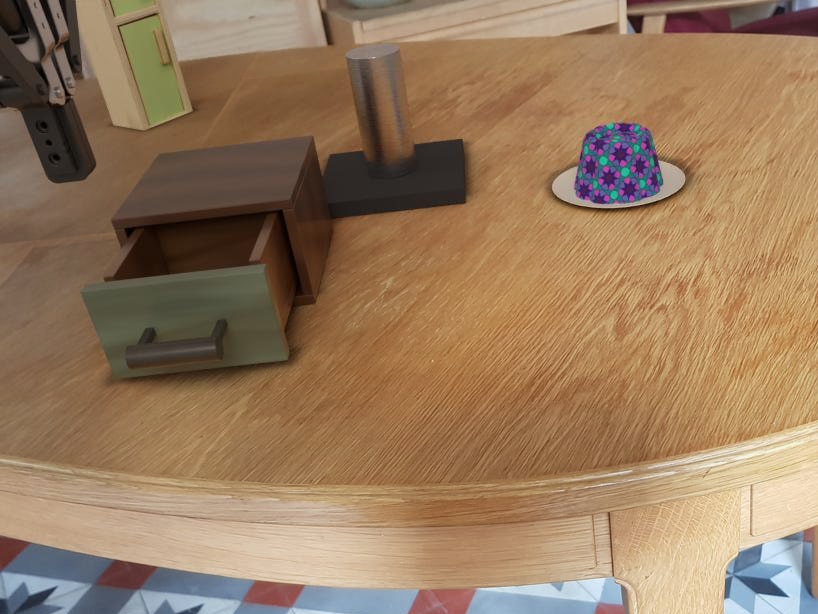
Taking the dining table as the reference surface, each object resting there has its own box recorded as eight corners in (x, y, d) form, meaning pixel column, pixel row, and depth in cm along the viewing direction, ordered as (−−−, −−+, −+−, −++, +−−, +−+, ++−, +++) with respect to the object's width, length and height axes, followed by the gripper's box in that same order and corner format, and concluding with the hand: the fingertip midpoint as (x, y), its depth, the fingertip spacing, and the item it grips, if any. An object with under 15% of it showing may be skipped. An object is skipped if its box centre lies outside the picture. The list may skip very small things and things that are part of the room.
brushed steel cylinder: (365, 181, 91) (342, 61, 84) (369, 163, 95) (347, 47, 88) (417, 175, 91) (398, 54, 84) (418, 157, 95) (400, 40, 88)
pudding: (697, 207, 81) (699, 146, 78) (557, 222, 82) (554, 163, 79) (672, 159, 91) (673, 103, 88) (547, 173, 92) (544, 118, 88)
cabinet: (315, 303, 75) (290, 198, 70) (147, 322, 76) (110, 219, 70) (333, 229, 86) (313, 134, 81) (188, 246, 87) (158, 153, 82)
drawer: (278, 393, 63) (252, 301, 59) (97, 412, 63) (58, 323, 59) (310, 275, 77) (291, 194, 73) (161, 292, 78) (133, 213, 73)
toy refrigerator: (148, 138, 116) (86, -56, 103) (113, 132, 120) (49, -56, 107) (199, 118, 120) (145, -70, 108) (164, 112, 124) (108, -70, 111)
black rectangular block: (317, 220, 89) (314, 204, 88) (332, 168, 100) (329, 154, 99) (465, 203, 88) (464, 187, 87) (464, 152, 99) (462, 138, 98)
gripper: (-97, -225, 44) (47, 144, 55) (-266, -218, 34) (-48, 236, 45) (58, -248, 44) (173, 128, 55) (-64, -248, 34) (108, 218, 44)
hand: (74, 176), depth 50 cm, fingers closed
